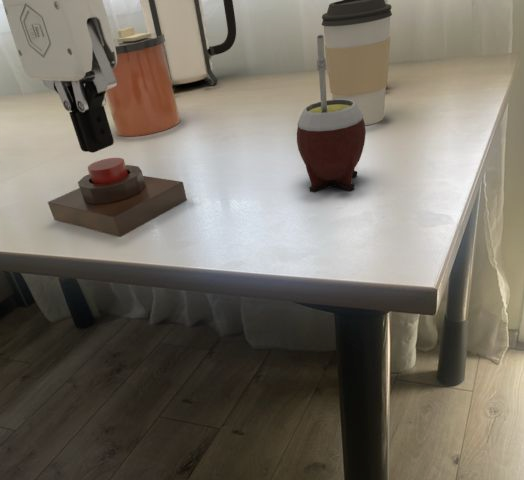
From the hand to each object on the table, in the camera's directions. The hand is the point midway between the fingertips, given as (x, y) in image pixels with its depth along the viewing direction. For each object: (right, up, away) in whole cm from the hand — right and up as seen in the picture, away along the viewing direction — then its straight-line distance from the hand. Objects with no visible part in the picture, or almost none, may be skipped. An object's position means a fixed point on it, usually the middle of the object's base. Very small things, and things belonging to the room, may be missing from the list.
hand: (98, 147), depth 57 cm
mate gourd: (+25, -4, +1) cm, 26 cm away
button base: (+1, -6, +4) cm, 7 cm away
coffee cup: (+32, +11, +20) cm, 39 cm away
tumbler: (-2, +17, +35) cm, 39 cm away
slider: (-2, +27, +26) cm, 37 cm away
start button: (+1, -3, +2) cm, 4 cm away
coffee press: (+2, +36, +60) cm, 70 cm away
